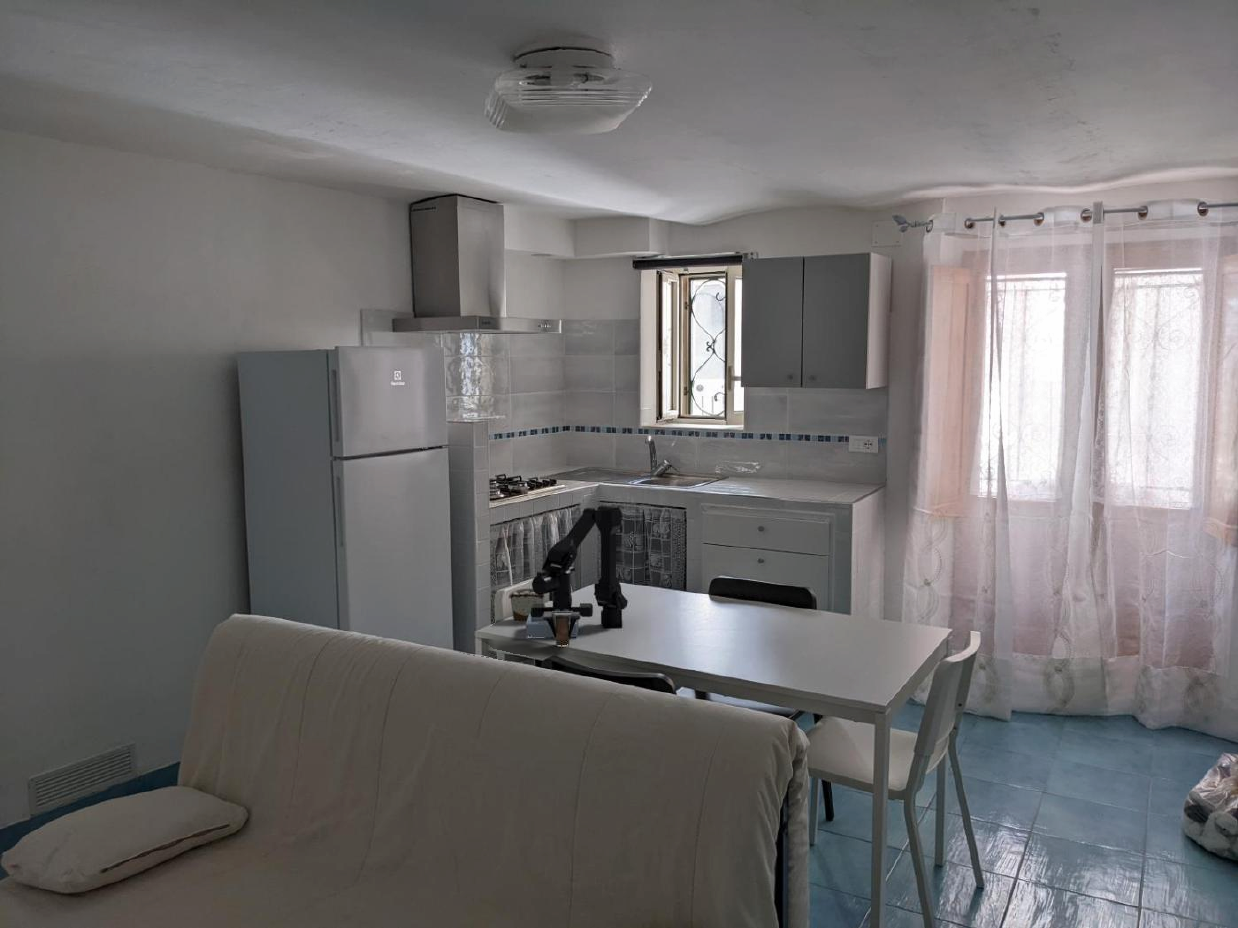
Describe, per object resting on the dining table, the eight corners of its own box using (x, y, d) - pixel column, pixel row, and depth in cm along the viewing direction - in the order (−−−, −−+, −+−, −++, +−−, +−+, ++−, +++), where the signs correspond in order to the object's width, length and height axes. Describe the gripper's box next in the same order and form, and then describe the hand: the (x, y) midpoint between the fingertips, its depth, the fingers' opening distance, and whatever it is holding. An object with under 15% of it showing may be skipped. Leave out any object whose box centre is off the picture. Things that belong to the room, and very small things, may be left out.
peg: (569, 643, 294) (569, 614, 293) (568, 647, 290) (568, 618, 289) (556, 643, 294) (556, 614, 293) (555, 647, 290) (555, 618, 289)
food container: (549, 617, 321) (548, 588, 320) (545, 622, 315) (545, 593, 314) (513, 616, 322) (512, 587, 321) (509, 621, 316) (508, 592, 315)
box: (578, 627, 310) (578, 613, 309) (576, 637, 299) (576, 624, 298) (529, 627, 310) (529, 614, 309) (526, 638, 299) (525, 624, 298)
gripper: (593, 580, 297) (593, 628, 300) (533, 581, 298) (534, 629, 300) (591, 590, 286) (592, 640, 288) (530, 590, 287) (531, 640, 289)
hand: (562, 637), depth 292 cm, fingers closed on peg, 4 cm apart
